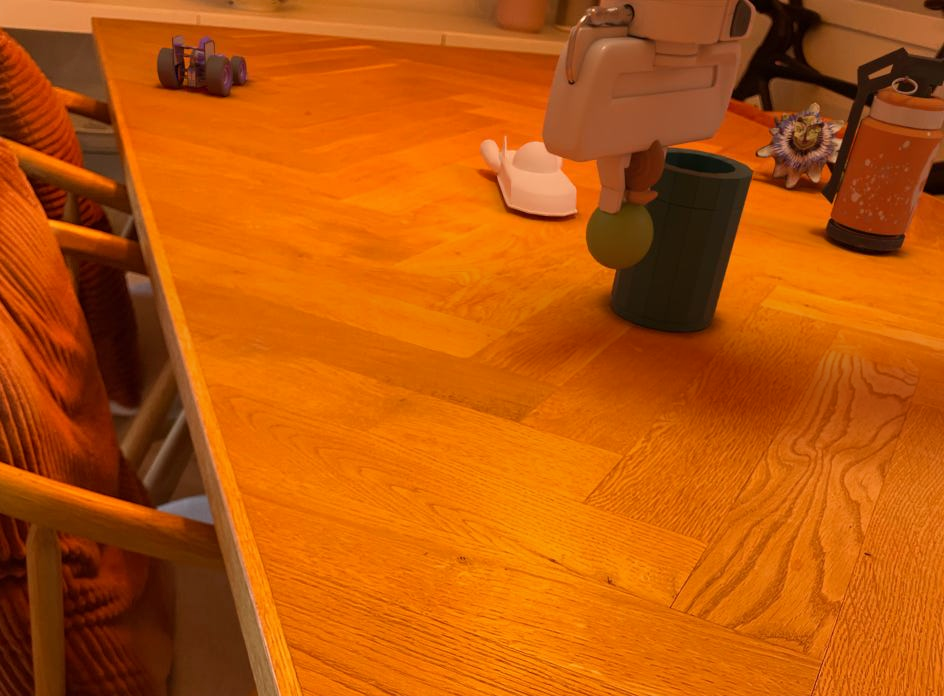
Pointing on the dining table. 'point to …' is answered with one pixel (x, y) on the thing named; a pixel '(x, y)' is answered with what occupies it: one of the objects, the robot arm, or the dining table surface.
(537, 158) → the white domed toy
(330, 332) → the dining table surface
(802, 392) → the dining table surface
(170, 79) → the toy race car
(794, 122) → the passion flower
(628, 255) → the snail figurine
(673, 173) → the jar
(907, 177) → the canister
